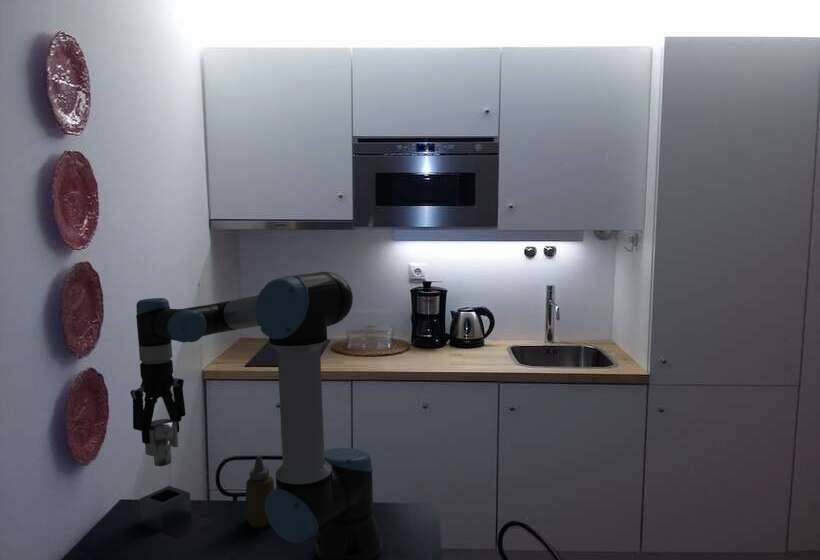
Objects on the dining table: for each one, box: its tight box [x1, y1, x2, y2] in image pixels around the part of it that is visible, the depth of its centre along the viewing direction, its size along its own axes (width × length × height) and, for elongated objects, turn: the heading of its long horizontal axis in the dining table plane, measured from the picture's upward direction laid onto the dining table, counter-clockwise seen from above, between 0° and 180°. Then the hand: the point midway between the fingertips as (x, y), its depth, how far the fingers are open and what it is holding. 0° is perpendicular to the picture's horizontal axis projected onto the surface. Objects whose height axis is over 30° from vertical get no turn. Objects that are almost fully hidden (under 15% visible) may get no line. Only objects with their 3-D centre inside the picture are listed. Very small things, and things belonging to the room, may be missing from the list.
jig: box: [138, 485, 214, 540], centre depth 151 cm, size 16×10×7 cm, turn 58°
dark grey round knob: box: [150, 418, 174, 467], centre depth 151 cm, size 6×6×10 cm
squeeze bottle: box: [244, 455, 276, 529], centre depth 149 cm, size 8×8×18 cm
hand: (162, 450), depth 151 cm, fingers closed on dark grey round knob, 6 cm apart
